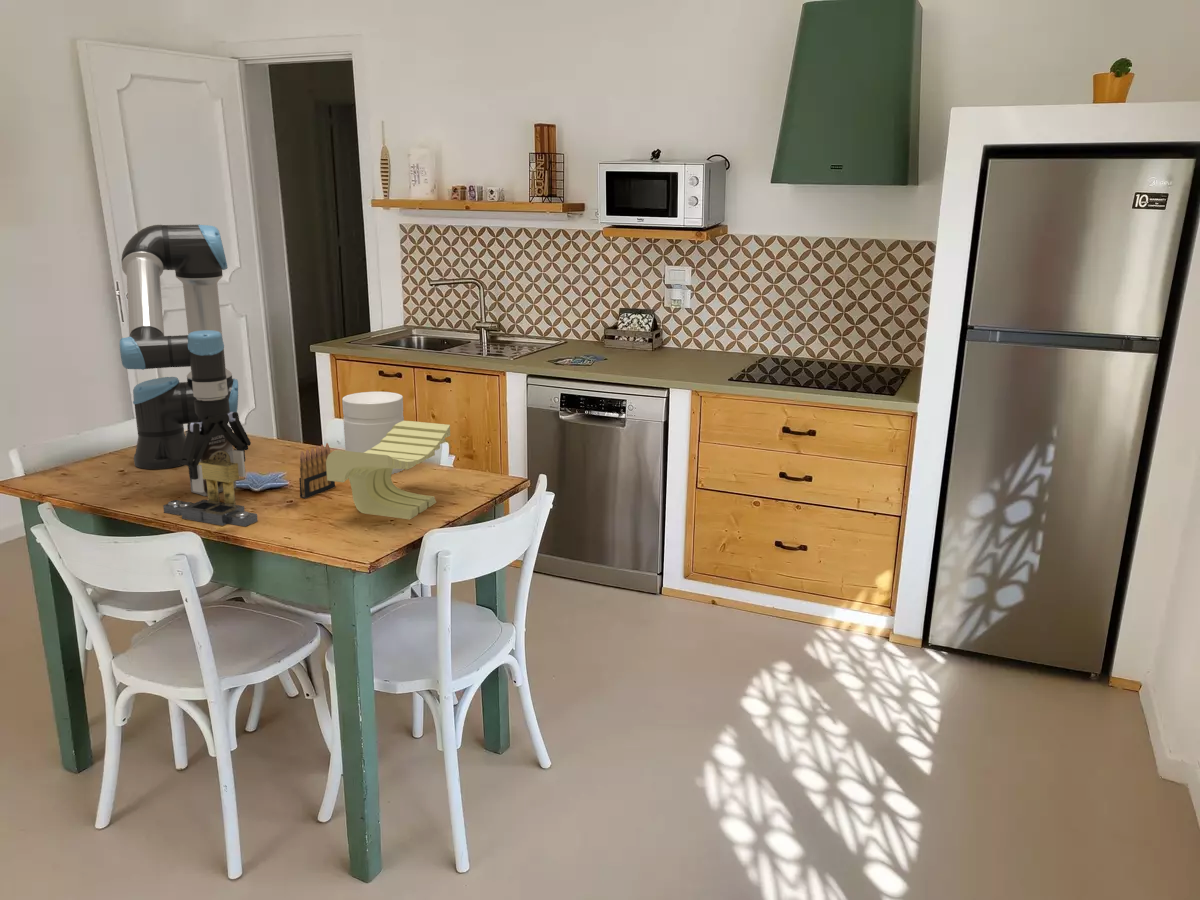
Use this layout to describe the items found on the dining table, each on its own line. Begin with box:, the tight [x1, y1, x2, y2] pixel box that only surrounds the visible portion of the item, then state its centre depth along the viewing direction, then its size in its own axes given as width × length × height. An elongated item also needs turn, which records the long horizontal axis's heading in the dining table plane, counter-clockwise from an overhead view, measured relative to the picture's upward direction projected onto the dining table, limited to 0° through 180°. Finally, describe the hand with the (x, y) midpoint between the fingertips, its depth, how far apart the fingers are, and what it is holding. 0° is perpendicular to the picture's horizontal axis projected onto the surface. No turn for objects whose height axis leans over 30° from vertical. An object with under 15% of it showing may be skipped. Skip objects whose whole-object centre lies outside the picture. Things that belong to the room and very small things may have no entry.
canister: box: [341, 391, 405, 475], centre depth 248 cm, size 16×16×20 cm
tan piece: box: [198, 459, 240, 505], centre depth 218 cm, size 9×3×10 cm, turn 69°
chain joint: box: [162, 499, 259, 527], centre depth 210 cm, size 24×7×2 cm, turn 69°
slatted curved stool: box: [326, 420, 451, 520], centre depth 217 cm, size 30×16×18 cm, turn 162°
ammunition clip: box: [298, 442, 336, 499], centre depth 228 cm, size 11×2×12 cm, turn 154°
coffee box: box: [184, 426, 237, 497], centre depth 228 cm, size 9×6×16 cm
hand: (220, 483), depth 218 cm, fingers open, 13 cm apart
